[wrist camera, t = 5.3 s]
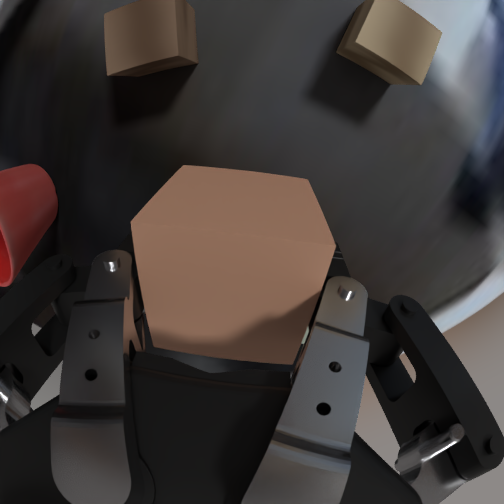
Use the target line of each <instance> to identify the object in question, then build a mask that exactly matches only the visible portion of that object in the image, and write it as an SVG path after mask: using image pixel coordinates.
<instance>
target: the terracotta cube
mask: <svg viewBox="0 0 504 504" xmlns="http://www.w3.org/2000/svg"><path fill="white" fill-rule="evenodd" d="M131 228H132V237H133V244H134V251H135V258H136V264H137V271H138V276H139V282H140V287H141V293H142V298H143V303H144V308H145V312H146V317H147V321H148V326H149V330H150V334H151V338H152V342H153V346H154V347H157V348H162V349H167V350H173V351H178V352H184V353H190V354H197V355H203V356H210V357H217V358H225V359H234V360H243V361H253V362H264V363H277V364H293V362H294V359H295V357H296V355H297V352H298V350H299V347H300V345H301V342H302V340H303V338H304V335H305V332H306V330H307V327H308V325H309V322H310V320H311V317H312V314H313V312H314V309H315V306H316V304H317V301H318V298H319V295H320V292H321V290H322V287H323V284H324V281H325V278H326V275H327V272H328V269H329V266H330V263H331V260H332V257H333V254H334V251H335V248H336V244H335V242H334V239H333V237H332V234H331V232H330V230H329V227H328V225H327V222H326V220H325V218H324V215H323V213H322V210H321V208H320V206H319V204H318V201H317V199H316V197H315V194H314V192H313V190H312V188H311V186H310V183H309V181H308V179H302V178H296V177H289V176H282V175H275V174H268V173H260V172H252V171H243V170H234V169H224V168H213V167H201V166H187V165H183V166H182V167H181V168H180V169H179V170H178V171H177V172H176V173H175V174H174V175H173V176H172V177H171V178H170V179H169V180H168V182H167V183H166V184H165V185H164V186H163V187H162V188H161V189H160V190H159V191H158V192H157V193H156V194H155V195H154V196H153V197H152V199H151V200H150V201H149V202H148V203H147V204H146V205H145V206H144V207H143V208H142V210H141V211H140V212H139V213H138V214H137V215H136V216H135V218H134V219H133V220H132V221H131Z"/></svg>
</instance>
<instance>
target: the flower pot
mask: <svg viewBox="0 0 504 504" xmlns="http://www.w3.org/2000/svg"><path fill="white" fill-rule="evenodd" d="M57 210H58V198H57V195H56V191H55V186H54V184H53V182H52V180H51V178H50V176H49V175H48V174H47V172H46V171H45V170H44V169H43V168H41V167H40V166H38V165H35V164H27V165H22V166H18V167H14V168H10V169H6V170H3V171H0V286H1V287H7V286H9V285H10V284H11V283H12V282H13V281H14V279H15V278H16V276H17V274H18V273H19V271H20V270H21V268H22V267H23V265H24V264H25V262H26V260H27V259H28V257H29V256H30V254H31V253H32V251H33V250H34V249H35V247H36V246H37V244H38V243H39V241H40V240H41V238H42V237H43V235H44V234H45V232H46V231H47V230H48V228H49V227H50V225H51V224H52V223H53V221H54V220H55V218H56V215H57Z"/></svg>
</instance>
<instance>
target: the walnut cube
mask: <svg viewBox="0 0 504 504" xmlns="http://www.w3.org/2000/svg"><path fill="white" fill-rule="evenodd" d="M104 30H105V53H106V67H107V76H135V77H140V76H143V75H147V74H151V73H155V72H159V71H163V70H168V69H172V68H177V67H182V66H187V65H193V64H198V53H197V40H196V27H195V13H194V9H193V8H192V7H191V6H190V5H189V4H188V3H187V2H186V1H185V0H139V1H136V2H133V3H130V4H128V5H125V6H122V7H120V8H117V9H115V10H112V11H110V12H108V13H105V14H104Z"/></svg>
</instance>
